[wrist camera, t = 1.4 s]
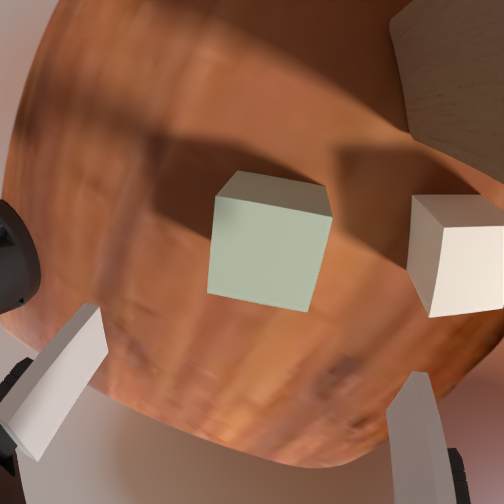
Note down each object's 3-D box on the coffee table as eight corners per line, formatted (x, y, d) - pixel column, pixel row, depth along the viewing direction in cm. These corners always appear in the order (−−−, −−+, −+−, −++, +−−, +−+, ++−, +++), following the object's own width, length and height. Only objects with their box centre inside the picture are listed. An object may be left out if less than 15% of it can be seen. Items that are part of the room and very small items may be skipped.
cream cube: (406, 269, 27) (428, 317, 21) (411, 194, 24) (443, 227, 18) (470, 265, 26) (502, 308, 19) (480, 194, 22) (523, 225, 16)
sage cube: (228, 248, 28) (207, 292, 22) (237, 170, 25) (215, 195, 19) (307, 263, 28) (307, 312, 22) (325, 186, 25) (333, 217, 19)
